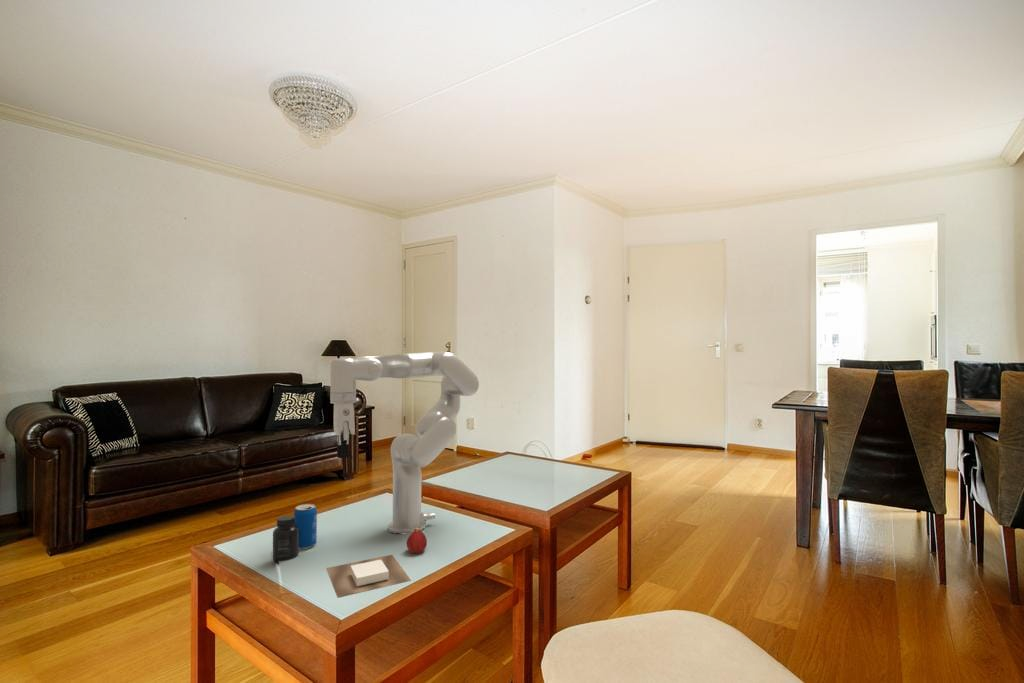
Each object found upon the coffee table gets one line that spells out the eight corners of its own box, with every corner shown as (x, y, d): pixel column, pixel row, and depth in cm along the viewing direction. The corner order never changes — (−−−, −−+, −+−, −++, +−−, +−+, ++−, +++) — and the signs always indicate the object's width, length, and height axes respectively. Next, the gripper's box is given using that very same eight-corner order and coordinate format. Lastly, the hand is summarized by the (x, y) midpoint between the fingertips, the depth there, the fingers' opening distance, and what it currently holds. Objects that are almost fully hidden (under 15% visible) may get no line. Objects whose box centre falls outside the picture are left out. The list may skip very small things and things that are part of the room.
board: (392, 558, 140) (392, 554, 140) (411, 585, 125) (411, 580, 125) (326, 572, 132) (326, 568, 132) (337, 602, 116) (337, 597, 116)
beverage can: (308, 551, 146) (308, 510, 146) (288, 549, 147) (289, 509, 147) (320, 542, 152) (321, 504, 152) (302, 541, 153) (302, 502, 153)
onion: (409, 551, 146) (409, 524, 146) (428, 551, 146) (428, 524, 146) (404, 559, 140) (404, 531, 140) (424, 559, 140) (424, 531, 140)
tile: (381, 559, 132) (388, 571, 125) (381, 567, 132) (388, 580, 125) (350, 565, 128) (356, 578, 121) (350, 574, 128) (356, 587, 121)
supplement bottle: (304, 556, 142) (304, 515, 142) (286, 566, 135) (286, 523, 135) (285, 553, 144) (285, 512, 144) (266, 563, 137) (267, 520, 138)
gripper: (360, 399, 146) (360, 460, 146) (351, 395, 159) (350, 451, 159) (334, 400, 142) (333, 463, 142) (326, 396, 155) (326, 454, 155)
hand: (342, 457), depth 150 cm, fingers closed
